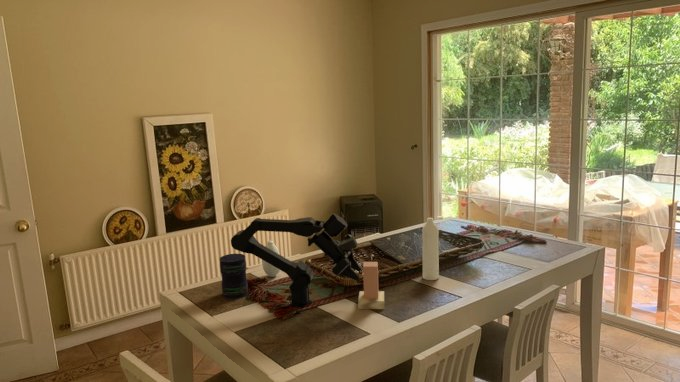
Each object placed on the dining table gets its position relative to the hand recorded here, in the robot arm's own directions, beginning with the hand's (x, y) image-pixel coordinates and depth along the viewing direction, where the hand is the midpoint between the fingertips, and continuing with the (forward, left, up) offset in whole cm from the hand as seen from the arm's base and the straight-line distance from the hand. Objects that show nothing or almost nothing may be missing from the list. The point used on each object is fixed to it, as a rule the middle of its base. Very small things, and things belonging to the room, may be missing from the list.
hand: (359, 275), depth 179 cm
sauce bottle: (+5, +48, -11) cm, 50 cm away
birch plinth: (+2, -3, -11) cm, 12 cm away
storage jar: (-17, +47, -11) cm, 51 cm away
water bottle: (+37, -11, -11) cm, 40 cm away
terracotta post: (+2, -3, -8) cm, 9 cm away
